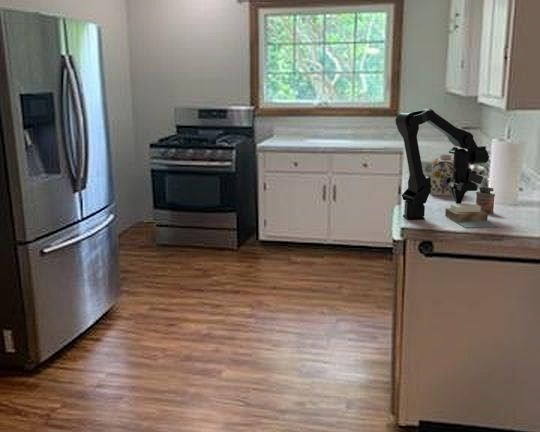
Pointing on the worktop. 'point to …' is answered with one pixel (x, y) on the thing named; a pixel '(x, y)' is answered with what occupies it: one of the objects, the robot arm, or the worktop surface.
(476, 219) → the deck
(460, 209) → the rectangular block
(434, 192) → the decorative jar
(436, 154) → the worktop surface
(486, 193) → the lighter
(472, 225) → the mat
